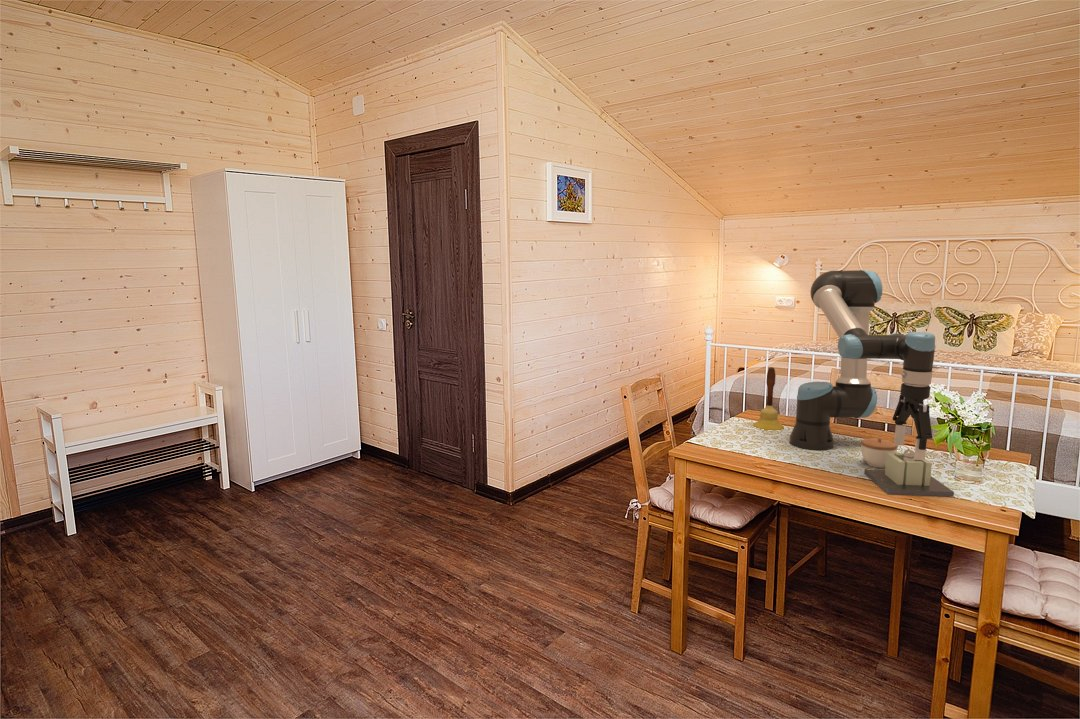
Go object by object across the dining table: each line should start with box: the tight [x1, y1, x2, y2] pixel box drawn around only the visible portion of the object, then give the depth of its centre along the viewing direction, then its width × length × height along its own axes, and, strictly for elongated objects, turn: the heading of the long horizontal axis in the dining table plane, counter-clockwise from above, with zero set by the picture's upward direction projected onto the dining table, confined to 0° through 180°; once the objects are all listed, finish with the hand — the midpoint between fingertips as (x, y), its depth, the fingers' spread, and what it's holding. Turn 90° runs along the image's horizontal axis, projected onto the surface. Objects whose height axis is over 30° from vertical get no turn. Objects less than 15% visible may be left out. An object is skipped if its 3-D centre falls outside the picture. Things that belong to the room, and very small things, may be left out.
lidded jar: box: [860, 437, 899, 469], centre depth 207 cm, size 11×11×9 cm
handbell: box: [752, 366, 785, 431], centre depth 254 cm, size 12×12×25 cm
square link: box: [884, 453, 933, 486], centre depth 188 cm, size 9×9×7 cm
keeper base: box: [863, 449, 955, 498], centre depth 188 cm, size 18×18×11 cm
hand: (908, 452), depth 188 cm, fingers open, 13 cm apart
